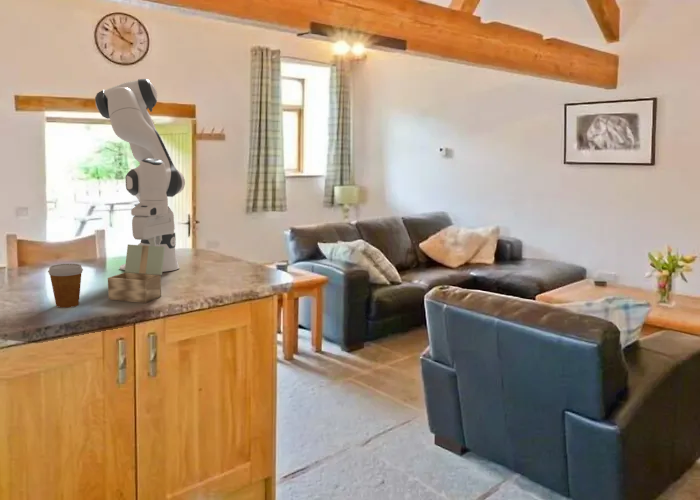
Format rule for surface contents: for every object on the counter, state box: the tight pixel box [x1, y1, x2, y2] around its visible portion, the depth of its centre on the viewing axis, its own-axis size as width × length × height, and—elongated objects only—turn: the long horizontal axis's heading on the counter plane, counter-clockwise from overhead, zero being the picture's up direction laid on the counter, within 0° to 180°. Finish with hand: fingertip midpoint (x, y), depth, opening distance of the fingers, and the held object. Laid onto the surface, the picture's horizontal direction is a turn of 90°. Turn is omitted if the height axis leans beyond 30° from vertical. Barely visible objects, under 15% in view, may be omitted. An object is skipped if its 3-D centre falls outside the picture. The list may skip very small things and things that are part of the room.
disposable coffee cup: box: [47, 263, 84, 309], centre depth 185 cm, size 10×10×12 cm
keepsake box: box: [107, 271, 162, 304], centre depth 196 cm, size 13×9×7 cm
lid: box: [124, 244, 165, 276], centre depth 201 cm, size 13×9×1 cm
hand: (155, 249), depth 207 cm, fingers closed
